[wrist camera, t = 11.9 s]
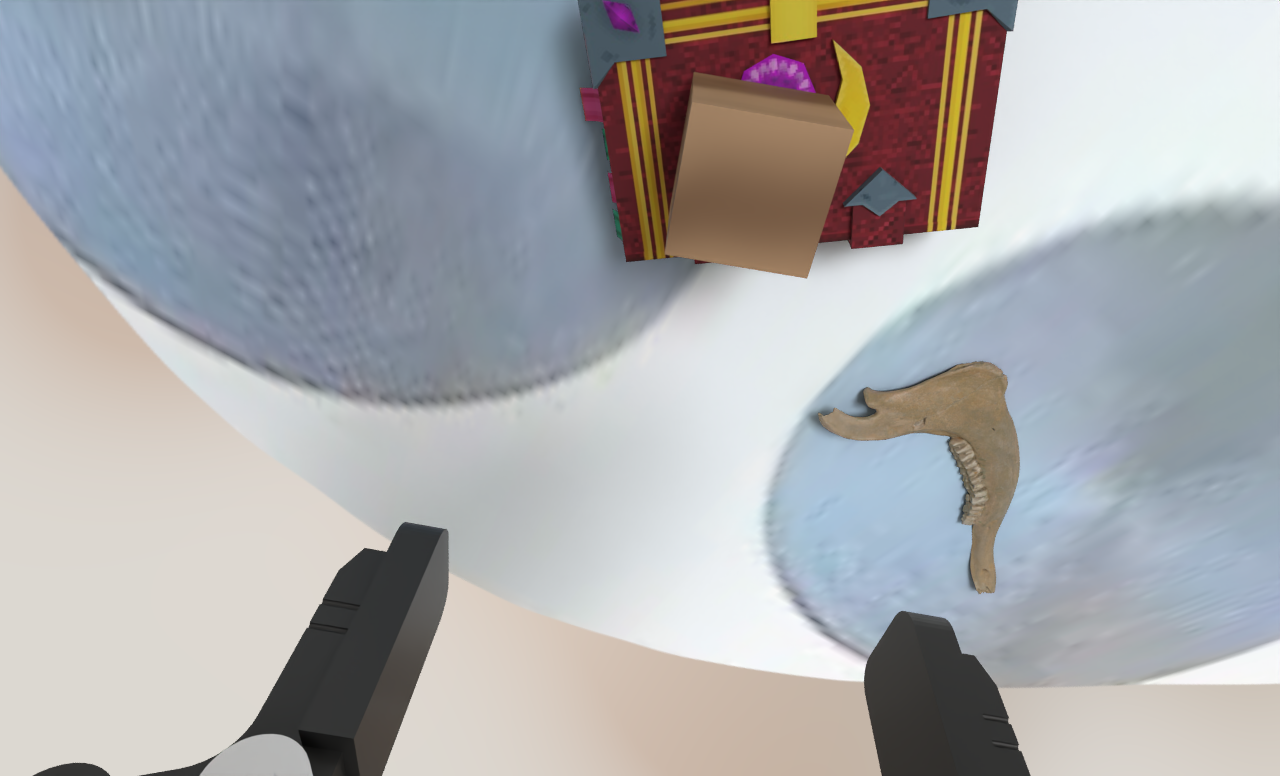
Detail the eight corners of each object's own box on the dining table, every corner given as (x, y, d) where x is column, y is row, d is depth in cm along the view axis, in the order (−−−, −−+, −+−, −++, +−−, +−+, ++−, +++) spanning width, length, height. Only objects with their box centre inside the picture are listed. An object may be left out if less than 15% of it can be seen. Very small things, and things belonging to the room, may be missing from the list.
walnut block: (693, 71, 24) (692, 102, 20) (828, 95, 25) (854, 130, 20) (670, 204, 27) (664, 254, 23) (791, 225, 27) (807, 278, 23)
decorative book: (950, 197, 31) (987, 239, 27) (609, 233, 34) (596, 277, 29) (986, -102, 25) (1041, -106, 21) (563, -32, 27) (537, -23, 23)
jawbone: (954, 305, 35) (970, 324, 33) (1108, 523, 43) (1128, 546, 41) (809, 402, 38) (817, 423, 37) (978, 587, 46) (991, 611, 45)
